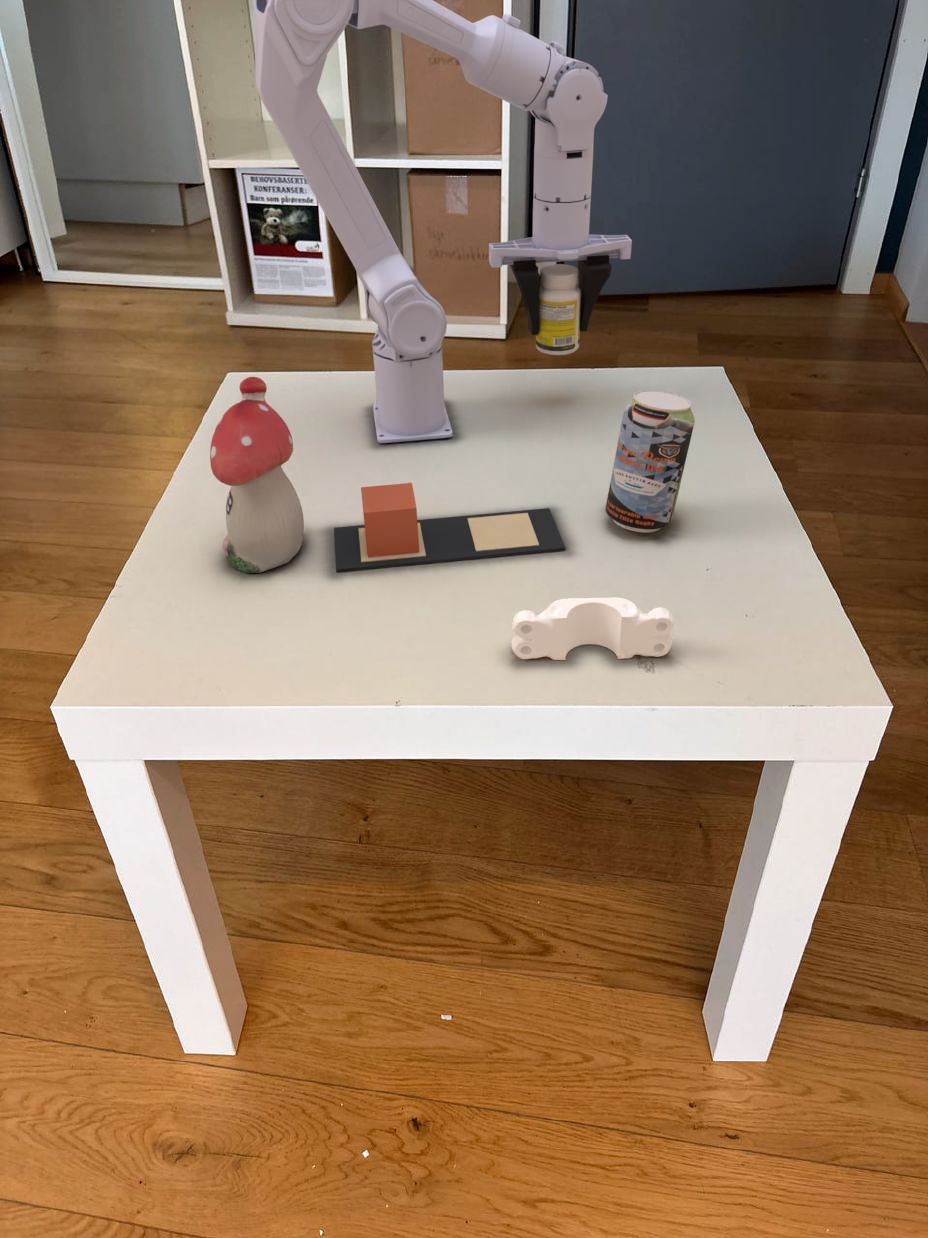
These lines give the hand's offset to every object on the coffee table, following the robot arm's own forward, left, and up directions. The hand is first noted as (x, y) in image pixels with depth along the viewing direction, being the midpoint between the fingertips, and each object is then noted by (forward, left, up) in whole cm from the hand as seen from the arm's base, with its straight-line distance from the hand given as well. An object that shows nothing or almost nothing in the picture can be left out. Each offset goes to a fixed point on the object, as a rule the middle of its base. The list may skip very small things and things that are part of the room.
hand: (557, 329), depth 105 cm
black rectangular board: (+27, -15, -9) cm, 32 cm away
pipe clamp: (+44, -7, -9) cm, 46 cm away
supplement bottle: (0, 0, -2) cm, 2 cm away
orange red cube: (+27, -20, -8) cm, 35 cm away
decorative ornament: (+26, -31, -9) cm, 42 cm away
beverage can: (+27, +3, -9) cm, 28 cm away
